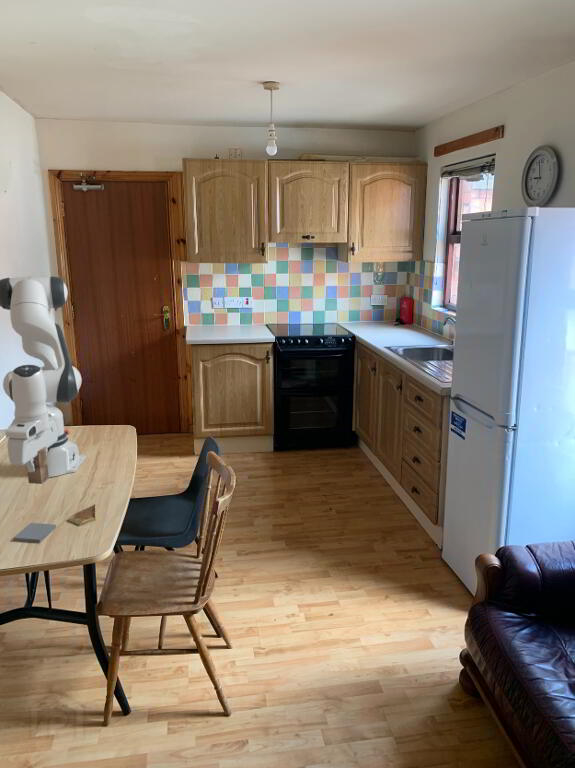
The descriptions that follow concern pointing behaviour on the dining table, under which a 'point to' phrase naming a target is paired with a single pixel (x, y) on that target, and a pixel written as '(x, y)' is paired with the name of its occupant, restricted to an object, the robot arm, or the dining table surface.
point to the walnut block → (39, 468)
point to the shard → (84, 516)
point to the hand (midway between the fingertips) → (37, 467)
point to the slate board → (35, 532)
